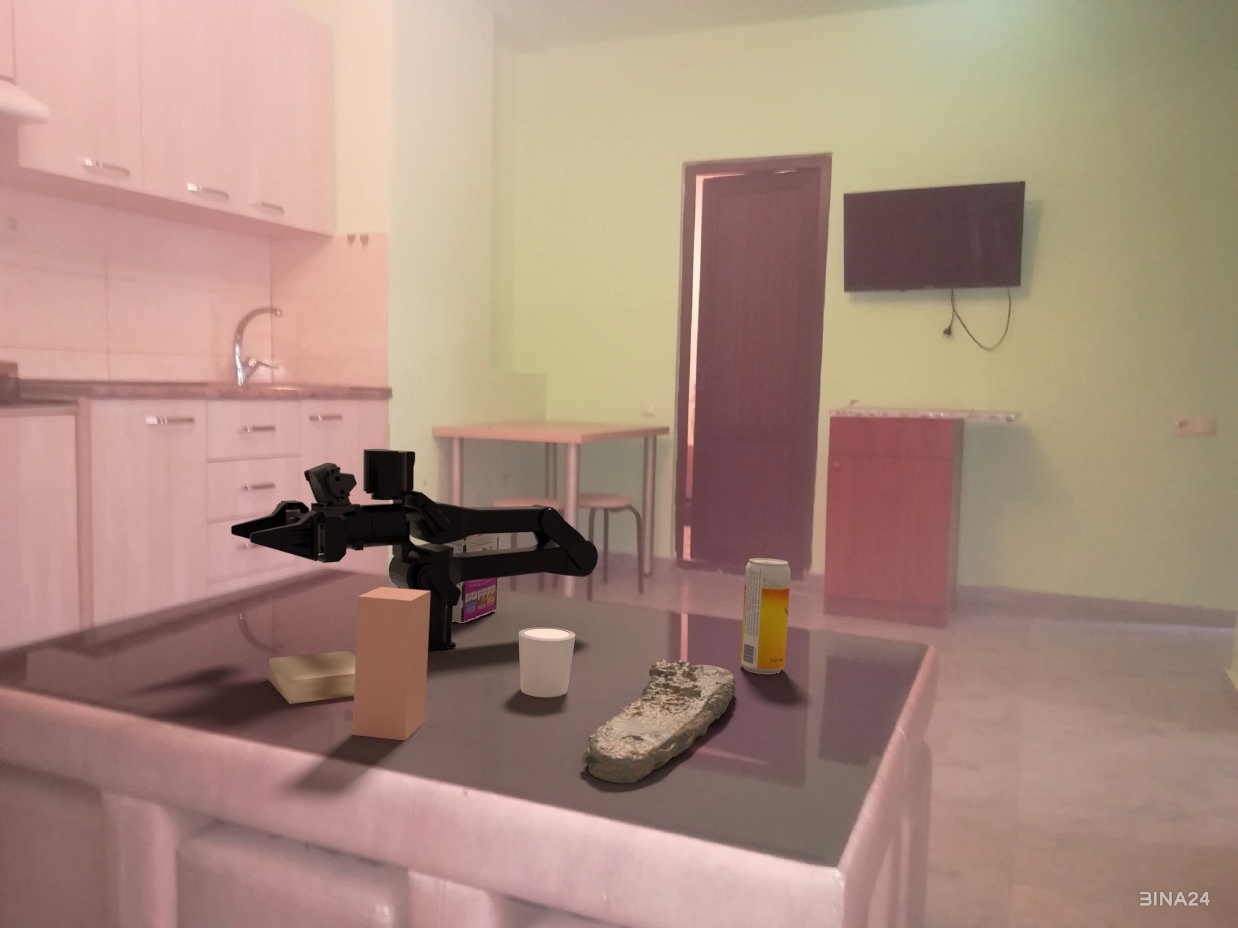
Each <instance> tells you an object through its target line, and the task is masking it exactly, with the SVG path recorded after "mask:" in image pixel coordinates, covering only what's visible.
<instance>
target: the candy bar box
mask: <svg viewBox="0 0 1238 928" xmlns="http://www.w3.org/2000/svg"><path fill="white" fill-rule="evenodd" d="M499 534H500V533H495V534H476V535H472V536H469V537H467V538H464V539H462V540H459V541H455V542H451V543H446V544H444V545H447V546H450V547H454V551H453V554H454V553H465V552H476V551H487V550H497V549H499V539H500V538H499V537H500V535H499ZM456 586H457V587H458V588H459V589H460V590H461V595H460V598H459V601H458V603H457V605H456V606H453V617H452V621H459V622H464V621H467V620H468V619H471V618H475V617H476V616H479V615H482V614H484V613H487V612H489V611H492V610H495V609H496V610H497V599H498V598H497V597H498V578H491V579H482V580H473V581H465V582H461V583H459V584H457V585H456Z"/></svg>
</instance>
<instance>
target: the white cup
mask: <svg viewBox="0 0 1238 928" xmlns="http://www.w3.org/2000/svg"><path fill="white" fill-rule="evenodd" d="M575 641H576V634H575V633H574V632H573V631H570V630H568V629H565V628H560V627H559V628H558V627H545V626H544V627H540V626H539V627H538V626H537V627H530V628H529V627H528V628H524V629H521V630H520V631H519V632H518V651H519V652H518V655H519V658H518V659H519V676H520V690H521V691H520V692H522V693H523V694H525V695H527V696H533V697H536V698H537V697H538V698H555V697H561V696H564V695H566V694H567V692H568V689H569V683H570V676H571V675H570V674H571V669H572V663H573V662H572V661H573V654H574V647H575V643H576V642H575Z"/></svg>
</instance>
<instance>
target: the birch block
mask: <svg viewBox="0 0 1238 928" xmlns="http://www.w3.org/2000/svg"><path fill="white" fill-rule="evenodd" d="M355 664H356V650H342V651H340V650H339V651H332V652H330V651H329V652H322V653H321V652H320V653H310V654H301V655H299V654H298V655H291V656H288V655H287V656H279V657H269V659H268V677H267V678H268V681H269V682H270V683H271V684H272V685H273V687H274V688H275V689H276V690H277V692H278V693H280V695H281V696H282V697H283V698H284V699H285V700H286V702H287V703H288V704H290V705H292V704H299V703H300V704H301V703H307V702H314V701H315V702H317V701H321V700H331V699H338V698H339V699H340V698H346V697H354V688H355Z"/></svg>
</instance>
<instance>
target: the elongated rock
mask: <svg viewBox="0 0 1238 928" xmlns="http://www.w3.org/2000/svg"><path fill="white" fill-rule="evenodd" d="M648 675H649V676H650V680H649V681H648V682H647V685H645V686H644V687H643V689H642V691H641V694H640V695H639V696H640V697H638V699H637V700H635V701H634V702H630V703H629V704H628V705H626V706H625V707H623V708H621V709H620V710H619V712H618V714H616V715H614V716H611V717H610V718H609V719H608V720H606V721H605V723H604V724H603V725H600V726H599V727H598V728H597V729H596V730H594V732H593V733H592V734H591V735H588V737H587V741H588V743H587V744H586V748H585V750H583V753H582V755H581V763H582V764H584V765H588V771H589V773H590V775H592V776H594V777H595V778H597V779H600V780H602V781H604V782H605V781H606V782H608V783H612V784H635V783H637V781H642V780H643V779H644V778H645V777H646V776H648V775H650V774H651V773H652V772H653V771H654V770H657V769H659V768H660V767H661V768H662V766H665V765H666V764H667V762H669V761H670V760H671V759H672V758H675V757H677V756H678V755H680V754H682V753H684V751H685V750H687V749H688V748H689V747H691V745H693V743H694V742H695V740H697V739H698V738H699V737H704V736H705V735H706V733H707V731H708V728H709V727H710V725H711V724H712V723H714V722H715V721H716V720H719V719H720V718H721V716H722V715H723V714H724V713H725V712H726V710H727V708H728V707H729V704H730V702H731V700H732V699H733V695H735V693H736V690H737V689H736V685H737V684H736V683H737V679H736V677H735V676H734V674H733V673H732V672H731V671H729V670H728V669H725V668H724V667H720V666H715V665H710V664H696V665H694V664H693V665H692V664H691V662H686V661H684V660H682V659H679V660H677V661H675V662H671V663H670V662H668V661H667V660H666V659H664V658H663V659H661V660H659V661H655V662H654V663H652V664H651V667H650V668H649V670H648Z"/></svg>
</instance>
